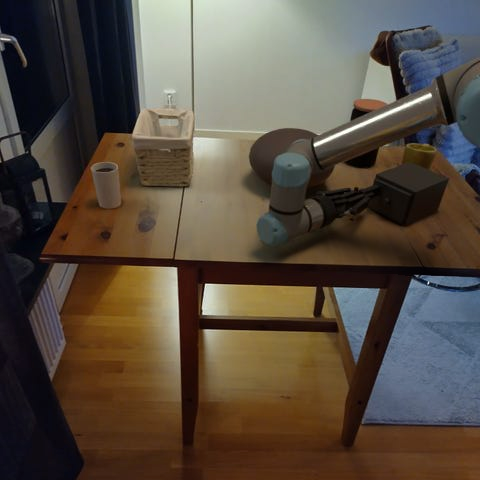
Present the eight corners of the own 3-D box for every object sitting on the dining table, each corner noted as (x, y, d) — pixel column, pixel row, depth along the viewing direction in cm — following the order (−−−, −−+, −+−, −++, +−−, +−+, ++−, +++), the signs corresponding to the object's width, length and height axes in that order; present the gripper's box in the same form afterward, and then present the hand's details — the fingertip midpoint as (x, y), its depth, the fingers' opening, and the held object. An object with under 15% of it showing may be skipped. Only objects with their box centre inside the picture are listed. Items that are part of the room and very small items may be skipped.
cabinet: (405, 226, 120) (415, 192, 114) (367, 207, 128) (376, 173, 121) (437, 211, 127) (449, 178, 121) (400, 194, 135) (410, 161, 128)
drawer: (398, 224, 119) (406, 196, 114) (364, 207, 126) (371, 180, 120) (431, 209, 126) (441, 182, 121) (398, 193, 133) (405, 167, 127)
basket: (192, 190, 131) (191, 137, 121) (135, 188, 130) (129, 135, 121) (196, 156, 149) (195, 108, 139) (145, 155, 148) (141, 107, 138)
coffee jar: (371, 171, 146) (385, 111, 134) (338, 164, 149) (349, 105, 137) (378, 159, 154) (392, 102, 142) (347, 153, 157) (358, 96, 145)
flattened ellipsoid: (274, 159, 150) (279, 111, 140) (344, 180, 140) (354, 130, 130) (231, 185, 134) (232, 133, 125) (306, 211, 124) (314, 156, 114)
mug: (426, 177, 139) (429, 142, 136) (394, 177, 146) (396, 144, 143) (442, 174, 147) (446, 141, 144) (412, 174, 154) (414, 143, 151)
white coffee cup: (121, 196, 126) (116, 160, 120) (124, 207, 122) (119, 171, 115) (96, 199, 125) (89, 163, 118) (98, 210, 120) (92, 173, 113)
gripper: (292, 216, 116) (354, 193, 128) (330, 239, 109) (392, 213, 120) (296, 189, 111) (360, 167, 123) (336, 211, 104) (400, 186, 115)
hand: (376, 190), depth 121 cm, fingers closed
